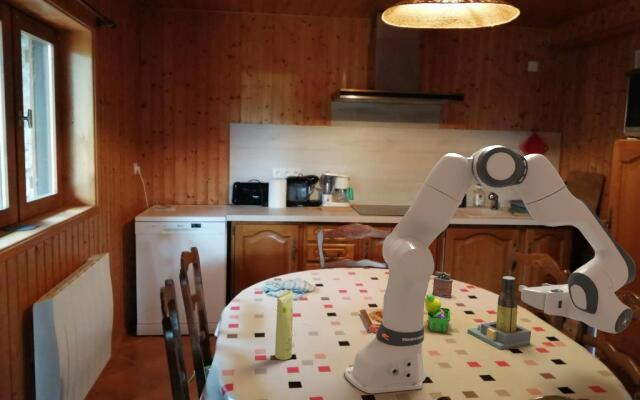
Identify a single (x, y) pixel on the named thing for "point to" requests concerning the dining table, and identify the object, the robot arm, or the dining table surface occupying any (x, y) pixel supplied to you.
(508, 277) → the sauce bottle
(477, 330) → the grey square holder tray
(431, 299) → the fruit basket
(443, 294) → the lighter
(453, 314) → the dining table surface
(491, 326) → the socket
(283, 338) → the tube
